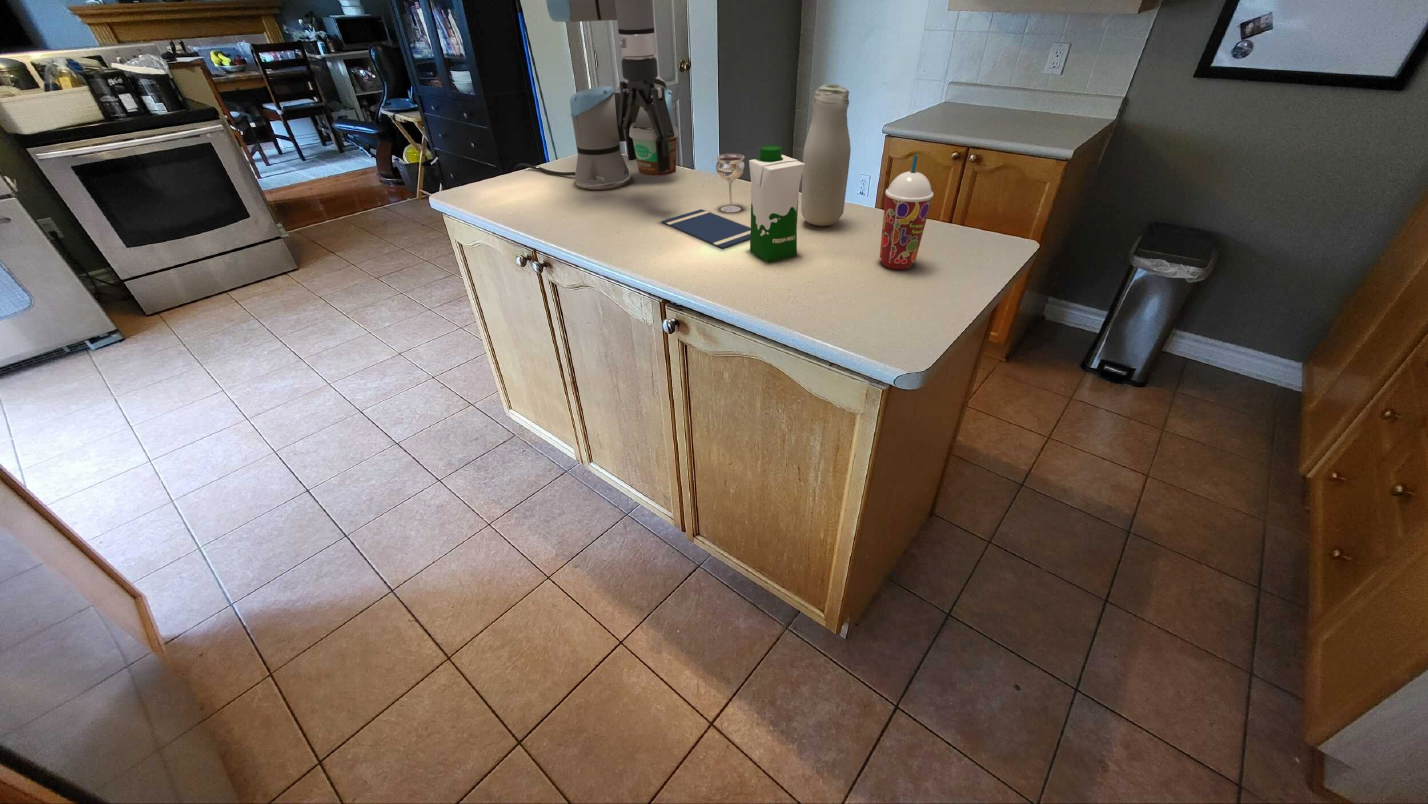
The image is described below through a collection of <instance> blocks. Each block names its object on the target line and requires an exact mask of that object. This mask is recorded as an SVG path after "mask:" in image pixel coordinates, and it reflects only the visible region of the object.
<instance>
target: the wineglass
mask: <svg viewBox="0 0 1428 804" xmlns="http://www.w3.org/2000/svg"><path fill="white" fill-rule="evenodd" d="M715 158H716V161H717V162H716V166H715V169H716V173H717V175H719V176H720V178H721V179H723V180H725V181H726V182H727V183H728V190H729V191H728V193H729V205H725V206H722V207H721V208H720V211H721V212H724V213H737V212H739V211H741V210H742V208H741V207H740V206H737V205H732V203H733V202H732V201H733V199H732V198H733V183H734V182H735V181H736V180H738V179H739V178H741V176H742V175H743V174H744V172H745V168H746V165H745V162H744V160H745V155H743V154H739V153H723V154H719V155H717V156H716V157H715Z"/></svg>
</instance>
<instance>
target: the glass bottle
mask: <svg viewBox="0 0 1428 804" xmlns="http://www.w3.org/2000/svg"><path fill="white" fill-rule="evenodd" d="M813 92H814V94H813V99H812V104H811V105H812V115H811V116H812V117H811V123H810V125H809V129H808V132H807V136H806V139H805V143H804V147H803V152H802V163H804V164H805V166H804V170H803V174H802V177H801V181H802V182H801V195H800V196H801V197H800V198H801V202H800V208H801V211H800V212H801V216H802V217H803V219H804V220H805V221H806V222H807V223H808V224H810V225H813V226H814V225H815V226H819V227H827V226H831V225H834V224H836V223H837V222H838V221H839V220H840V218H842V216H843V215H844V210H845V202H846V194H847V186H848V179H849V178H848V177H849V169H850V161H851V151H852V150H851V147H852V146H851V138H850V134H849V131H850V130H849V126H848V108H849V107H850V100H849V96H850V95H849V94H850V91H849V90H848V89H847V88H846V87H844V86H842V85H838V84H823V85H821V86H819V87H818V88H817V89H815V91H813Z"/></svg>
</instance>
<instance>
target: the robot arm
mask: <svg viewBox="0 0 1428 804" xmlns="http://www.w3.org/2000/svg"><path fill="white" fill-rule="evenodd" d="M545 3H546V8H547V12H548V16H549V17H550V18H549V19H550V20H552V21H553V22H554V23H555V22H557V23H566V24H570V23H580V22H581V23H583V22H600V21H603V22H605V21H617V31H618V38H619V39H618V40H619V41H618V44H619V50H620V56H621V57H623V58H621V61H620V62H621V71H622V72H621V73H622V77H623V79H624V81H619V91H620V92H615V89H614V87H613V86H611V85H605V86H604V85H603V86H596V87H591V88H587V89H582V90H580V91H577V92H575V93H574V94H572V96H570V98H569V99H570V100H569V106H570V117H571V120H572V126H573V133H574V139H575V145H576V151H577V159H576V167H575V171H555V170H551V169H546V168H544V167H542V166H536V165H533V164H530V163H524V162H523V163H518V164H516V166H515V167H514V169H513V170H514V171H516V170H517V171H518V170H519V169H520V168H522V167H523V168H529V169H532V170H536V171H541V172H542V173H545V174H548V175H549V174H550V175H555V176H562V177H563V176H564V177H565V176H566V177H569V176H572V177H573V176H574V180H575V185H576V187H577V188H579V189H583V190H589V191H606V190H612V189H618V188H621V187H625V186H626V185H628V184H629V183H630V182H631V174H630V171H629V167H628V165H627V163H626V161H625V158H624V156H623V154H622V151H621V144H620V142H625V143H626V152H627V161H629V162H631V161H637V159H636V154H635V149H634V143H633V138H631V137H630V136H629V131H630V127H631V124H632V123H634V122H635V127H644V128H646V127H653V128H654V131H655V133H656V135H657V139H656V152H657V165H658V171H659V172H661V171H665V170H669V144H668V140H669V139H670V138H672V137H674V130H673V127H674V126H673V123H672V114H673V113H672V112H673V111H672V109H673V91H672V90H671V89H667V82H666V81H665V80H664V79H663V78H662V77H661V74H660V61H659V52H658V39H657V38H658V37H657V25H656V13H655V12H656V11H655V0H545ZM668 131H669V132H668ZM661 133H662V134H661ZM536 167H539V168H536Z"/></svg>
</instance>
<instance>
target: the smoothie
mask: <svg viewBox="0 0 1428 804" xmlns="http://www.w3.org/2000/svg"><path fill="white" fill-rule="evenodd" d="M918 159H919V158H918V155H917V154H914V155H913V160H912V165H911V170H909V171H905V172H902V173H900V174H898V175H897V176H896V177H895V178H894V179H893V180H892V181H891V183H890V184H889V186H888V187H887V188H886V189H885V194H884V207H883V215H882V228H881V239H880V248H879V249H880V250H879V258H880V259H881V264H882V265H883V266H885V267H886V268H888V269H893V270H905V269H908V268H911V267H912V265H913V263H915V261H916V260H917V257H918V252H919V250H920V245H921V242H922V237H923V235H924V230H925V228H926V224H927V220H928V216H929V212H930V209H931V205H932V201H933V197H934V191H932V186H931V183H930V181H929V179H928V178H927V176H925V175H924V174H923V173H922V172H919V171H916V169H917V162H918Z"/></svg>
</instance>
